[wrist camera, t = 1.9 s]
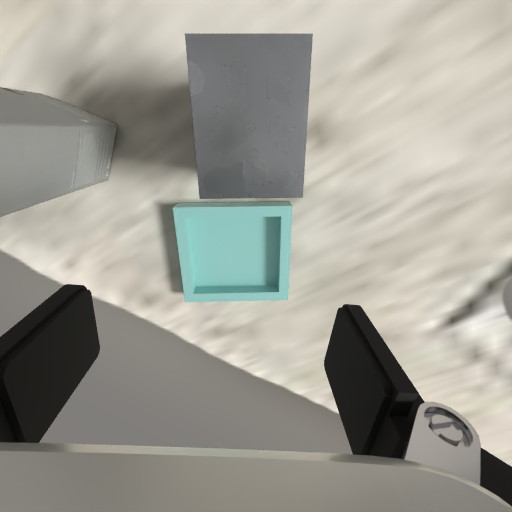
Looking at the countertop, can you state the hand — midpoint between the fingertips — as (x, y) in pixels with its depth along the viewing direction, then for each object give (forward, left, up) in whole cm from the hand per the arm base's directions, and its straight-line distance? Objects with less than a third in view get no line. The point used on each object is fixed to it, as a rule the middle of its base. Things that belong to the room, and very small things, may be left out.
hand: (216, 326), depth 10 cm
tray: (+7, 0, -24) cm, 25 cm away
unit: (-7, +2, -24) cm, 25 cm away
